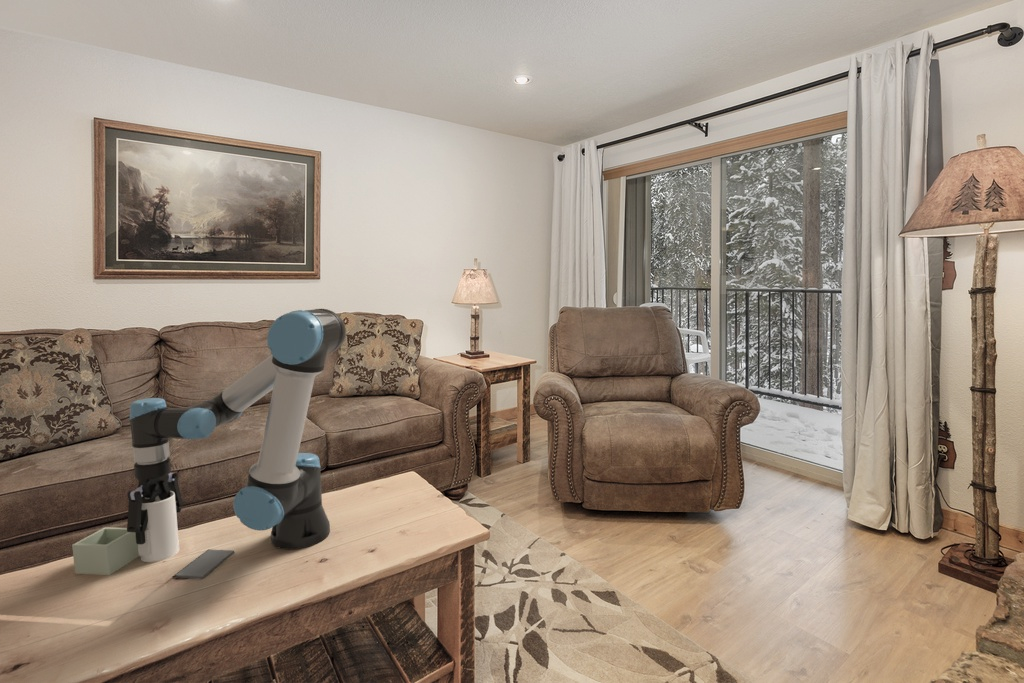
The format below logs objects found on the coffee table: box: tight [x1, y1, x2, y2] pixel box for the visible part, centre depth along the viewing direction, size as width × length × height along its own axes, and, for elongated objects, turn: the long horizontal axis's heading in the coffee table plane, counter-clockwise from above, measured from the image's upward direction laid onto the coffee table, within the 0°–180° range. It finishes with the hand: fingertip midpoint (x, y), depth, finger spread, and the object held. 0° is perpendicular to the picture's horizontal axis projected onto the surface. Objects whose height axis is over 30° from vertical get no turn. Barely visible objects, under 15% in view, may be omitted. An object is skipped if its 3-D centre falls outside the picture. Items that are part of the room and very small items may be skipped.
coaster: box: [171, 548, 235, 580], centre depth 129 cm, size 12×12×1 cm
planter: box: [71, 526, 141, 576], centre depth 128 cm, size 9×9×8 cm
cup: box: [140, 491, 180, 563], centre depth 132 cm, size 8×8×16 cm
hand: (158, 545), depth 133 cm, fingers closed on cup, 8 cm apart
